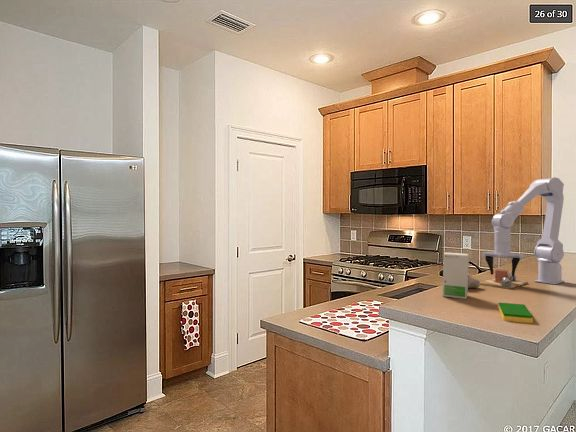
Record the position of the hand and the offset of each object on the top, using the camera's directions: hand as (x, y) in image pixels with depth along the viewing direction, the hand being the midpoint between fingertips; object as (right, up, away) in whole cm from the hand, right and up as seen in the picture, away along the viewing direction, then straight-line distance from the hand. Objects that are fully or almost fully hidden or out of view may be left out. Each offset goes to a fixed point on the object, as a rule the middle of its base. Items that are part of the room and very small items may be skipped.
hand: (502, 275), depth 158 cm
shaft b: (-2, -4, -6) cm, 7 cm away
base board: (0, -4, 0) cm, 4 cm away
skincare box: (-29, -5, -20) cm, 35 cm away
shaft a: (+5, -4, +4) cm, 7 cm away
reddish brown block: (0, -3, 0) cm, 3 cm away
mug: (-18, -4, -7) cm, 20 cm away
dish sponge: (-22, -6, -45) cm, 51 cm away
